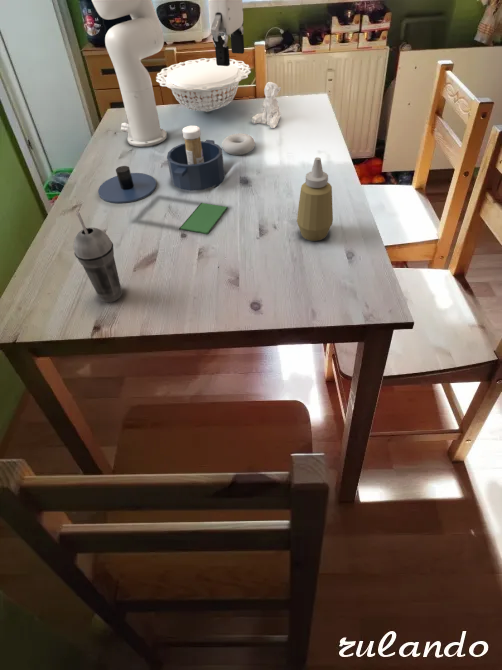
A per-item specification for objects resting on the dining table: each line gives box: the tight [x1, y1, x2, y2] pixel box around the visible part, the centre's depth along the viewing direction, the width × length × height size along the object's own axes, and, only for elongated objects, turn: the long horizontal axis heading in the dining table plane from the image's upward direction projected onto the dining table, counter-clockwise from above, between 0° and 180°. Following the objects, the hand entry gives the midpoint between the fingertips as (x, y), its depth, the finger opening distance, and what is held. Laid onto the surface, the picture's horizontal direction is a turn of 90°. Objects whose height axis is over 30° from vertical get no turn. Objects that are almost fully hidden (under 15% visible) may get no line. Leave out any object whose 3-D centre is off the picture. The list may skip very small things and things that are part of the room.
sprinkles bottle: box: [182, 125, 204, 165], centre depth 123 cm, size 5×5×14 cm
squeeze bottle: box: [296, 156, 334, 242], centre depth 100 cm, size 8×8×18 cm
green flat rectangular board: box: [178, 202, 228, 235], centre depth 115 cm, size 20×12×1 cm, turn 69°
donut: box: [221, 132, 256, 156], centre depth 138 cm, size 10×4×10 cm
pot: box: [166, 139, 226, 192], centre depth 125 cm, size 15×20×7 cm
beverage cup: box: [73, 211, 123, 303], centre depth 88 cm, size 7×7×20 cm
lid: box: [97, 165, 157, 204], centre depth 124 cm, size 16×16×6 cm
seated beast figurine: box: [251, 81, 282, 129], centre depth 149 cm, size 10×9×12 cm
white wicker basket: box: [155, 57, 252, 113], centre depth 157 cm, size 32×32×13 cm
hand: (230, 59), depth 112 cm, fingers open, 9 cm apart
